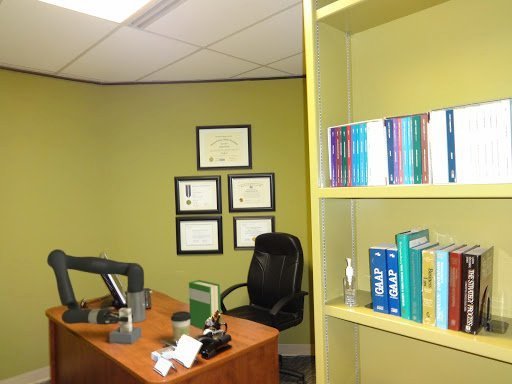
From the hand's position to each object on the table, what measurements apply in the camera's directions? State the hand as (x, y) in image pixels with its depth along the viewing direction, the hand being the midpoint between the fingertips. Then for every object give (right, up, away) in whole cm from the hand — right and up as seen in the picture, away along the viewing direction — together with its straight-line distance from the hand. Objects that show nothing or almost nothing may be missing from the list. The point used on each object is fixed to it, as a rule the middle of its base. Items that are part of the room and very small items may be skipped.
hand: (130, 318), depth 193 cm
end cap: (-2, -12, +1) cm, 12 cm away
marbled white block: (-2, -10, +1) cm, 11 cm away
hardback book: (+36, -10, +17) cm, 41 cm away
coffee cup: (+28, -11, -7) cm, 31 cm away
